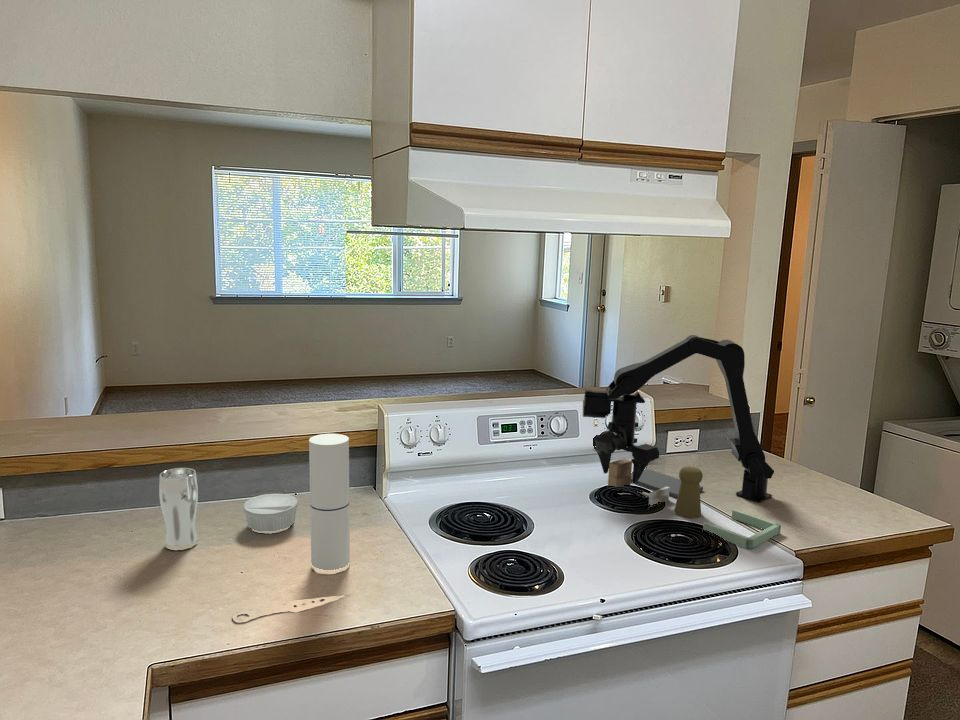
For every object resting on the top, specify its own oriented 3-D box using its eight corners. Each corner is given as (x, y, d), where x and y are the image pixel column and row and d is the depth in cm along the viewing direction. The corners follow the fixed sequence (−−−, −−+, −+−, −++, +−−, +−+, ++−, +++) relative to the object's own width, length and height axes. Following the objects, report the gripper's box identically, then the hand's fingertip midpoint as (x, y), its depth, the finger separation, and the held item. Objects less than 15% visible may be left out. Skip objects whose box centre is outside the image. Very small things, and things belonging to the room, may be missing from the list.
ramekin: (257, 542, 142) (256, 517, 141) (235, 524, 150) (234, 501, 149) (307, 528, 149) (307, 504, 148) (284, 511, 158) (283, 489, 157)
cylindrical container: (316, 578, 128) (314, 446, 123) (307, 561, 134) (304, 436, 130) (354, 570, 131) (353, 442, 127) (343, 554, 137) (342, 431, 133)
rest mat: (644, 471, 191) (644, 467, 191) (702, 490, 177) (703, 486, 177) (621, 478, 184) (621, 475, 184) (680, 499, 171) (680, 495, 171)
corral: (733, 517, 161) (734, 509, 161) (780, 533, 153) (781, 524, 152) (702, 531, 153) (703, 523, 152) (749, 549, 144) (750, 540, 144)
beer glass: (208, 541, 141) (204, 470, 139) (180, 555, 135) (176, 481, 132) (182, 534, 144) (179, 465, 142) (154, 547, 138) (150, 475, 135)
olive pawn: (695, 520, 159) (699, 474, 157) (670, 513, 162) (673, 468, 160) (704, 512, 163) (709, 467, 161) (680, 506, 167) (683, 462, 165)
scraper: (623, 483, 181) (625, 458, 180) (668, 499, 171) (670, 472, 169) (606, 489, 176) (608, 463, 175) (651, 506, 166) (653, 478, 165)
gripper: (574, 415, 176) (571, 474, 179) (634, 432, 162) (630, 496, 165) (602, 409, 183) (599, 466, 186) (662, 425, 169) (658, 486, 172)
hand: (619, 478), depth 177 cm, fingers open, 9 cm apart
